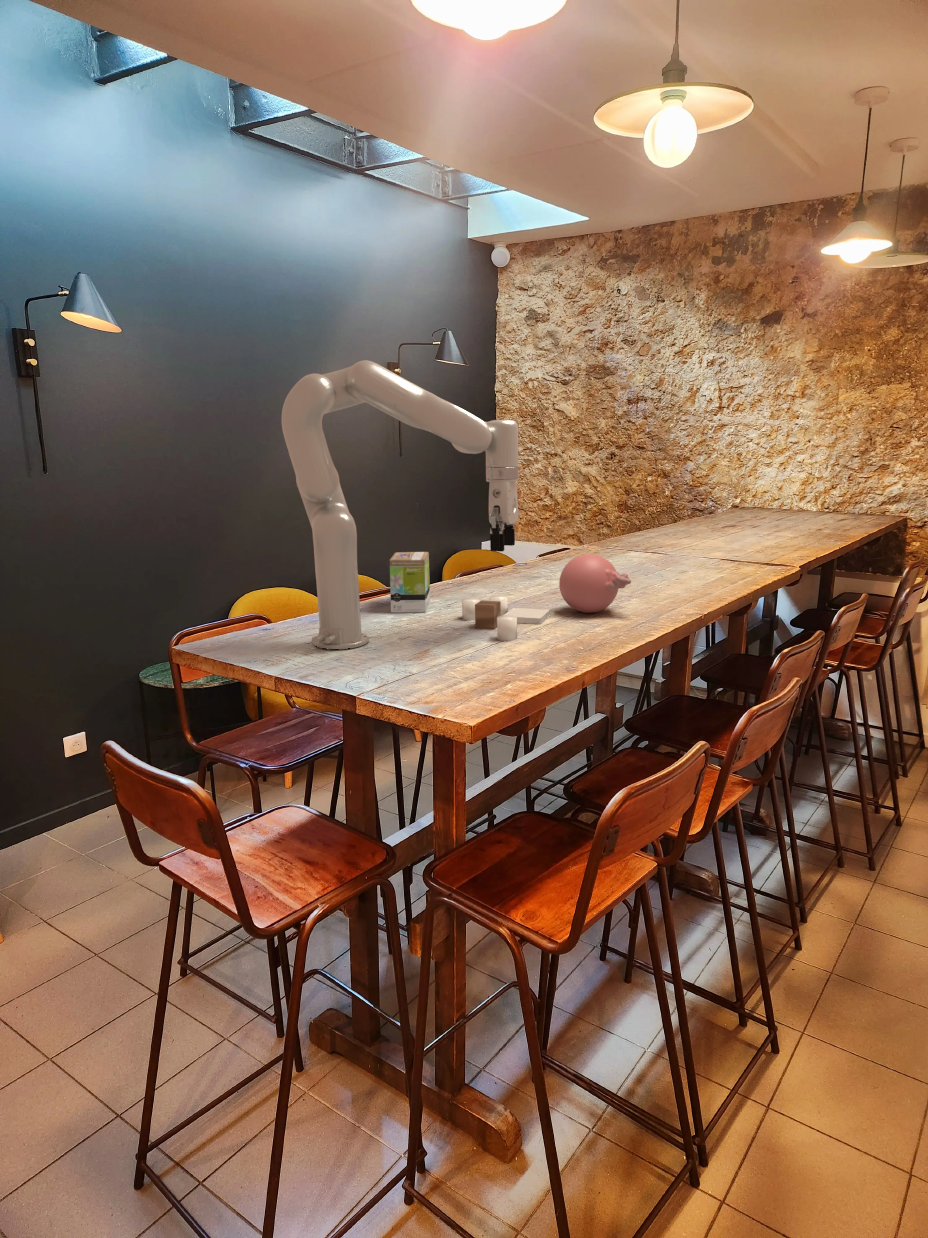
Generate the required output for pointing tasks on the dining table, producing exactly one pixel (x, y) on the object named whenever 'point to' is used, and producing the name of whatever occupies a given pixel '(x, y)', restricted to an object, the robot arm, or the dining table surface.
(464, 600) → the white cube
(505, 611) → the white cylinder
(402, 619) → the dining table surface
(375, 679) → the dining table surface
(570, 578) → the pink balloon
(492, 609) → the walnut block
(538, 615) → the stone coaster
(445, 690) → the dining table surface
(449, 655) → the dining table surface
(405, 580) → the tea box
